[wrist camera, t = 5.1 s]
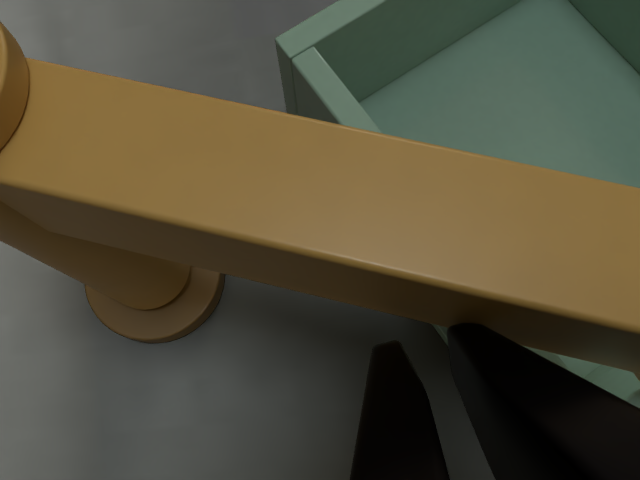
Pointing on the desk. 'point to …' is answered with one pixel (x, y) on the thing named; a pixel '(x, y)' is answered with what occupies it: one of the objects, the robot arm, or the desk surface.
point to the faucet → (309, 212)
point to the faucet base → (162, 310)
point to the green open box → (483, 89)
